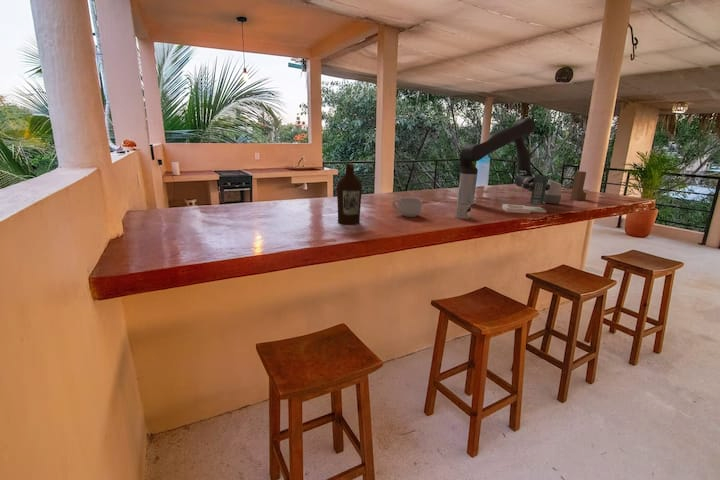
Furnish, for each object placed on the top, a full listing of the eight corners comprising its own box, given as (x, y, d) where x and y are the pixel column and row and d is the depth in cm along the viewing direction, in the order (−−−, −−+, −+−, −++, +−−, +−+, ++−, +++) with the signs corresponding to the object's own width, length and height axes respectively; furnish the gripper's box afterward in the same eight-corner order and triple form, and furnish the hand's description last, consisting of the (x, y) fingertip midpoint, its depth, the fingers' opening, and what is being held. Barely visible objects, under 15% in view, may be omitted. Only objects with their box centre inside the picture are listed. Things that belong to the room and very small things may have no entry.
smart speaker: (561, 205, 215) (565, 181, 211) (543, 204, 218) (547, 180, 214) (558, 202, 224) (562, 179, 220) (541, 201, 227) (545, 178, 223)
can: (543, 203, 199) (548, 175, 194) (541, 205, 194) (546, 176, 189) (531, 202, 202) (535, 174, 197) (529, 203, 197) (534, 175, 192)
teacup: (422, 214, 180) (423, 198, 177) (418, 219, 170) (419, 202, 168) (395, 211, 184) (395, 196, 182) (389, 216, 174) (390, 199, 172)
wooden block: (579, 198, 242) (584, 171, 237) (585, 199, 238) (591, 171, 233) (570, 199, 238) (575, 171, 233) (576, 200, 234) (582, 172, 229)
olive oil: (334, 219, 164) (335, 162, 156) (357, 219, 166) (359, 163, 159) (338, 225, 154) (339, 165, 146) (363, 225, 156) (365, 165, 149)
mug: (469, 219, 172) (470, 205, 170) (454, 218, 174) (456, 204, 172) (470, 215, 181) (472, 202, 179) (456, 214, 183) (458, 201, 181)
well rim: (506, 211, 192) (507, 208, 191) (502, 207, 203) (502, 204, 202) (530, 213, 190) (530, 209, 190) (524, 209, 201) (525, 205, 201)
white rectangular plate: (530, 211, 195) (530, 209, 194) (525, 208, 204) (525, 206, 204) (546, 212, 193) (546, 210, 193) (540, 208, 203) (540, 207, 202)
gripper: (519, 176, 210) (526, 180, 194) (545, 177, 208) (555, 181, 192) (517, 189, 212) (524, 194, 196) (543, 190, 210) (553, 196, 194)
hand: (540, 188), depth 194 cm, fingers closed on can, 6 cm apart
